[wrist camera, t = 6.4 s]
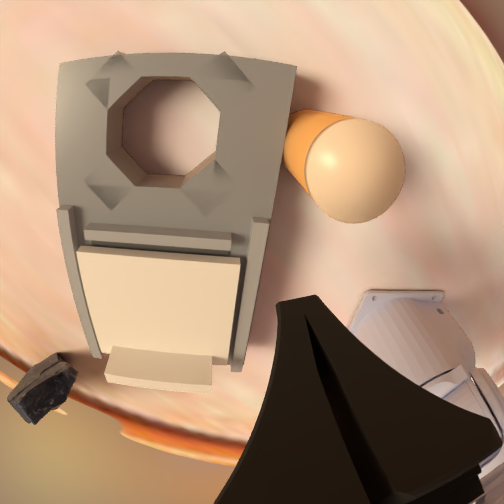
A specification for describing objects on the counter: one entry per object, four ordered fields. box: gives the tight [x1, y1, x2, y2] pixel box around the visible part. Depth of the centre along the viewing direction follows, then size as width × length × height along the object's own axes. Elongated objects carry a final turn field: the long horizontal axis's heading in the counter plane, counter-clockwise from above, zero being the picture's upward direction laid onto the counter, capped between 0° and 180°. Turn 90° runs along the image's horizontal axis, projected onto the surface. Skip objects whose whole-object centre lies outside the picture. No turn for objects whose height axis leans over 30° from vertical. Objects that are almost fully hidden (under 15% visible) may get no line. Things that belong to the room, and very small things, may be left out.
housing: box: [55, 51, 297, 372], centre depth 16 cm, size 12×20×3 cm, turn 172°
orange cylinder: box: [281, 110, 405, 224], centre depth 13 cm, size 4×4×7 cm
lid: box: [76, 245, 241, 394], centre depth 16 cm, size 9×8×3 cm
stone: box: [7, 353, 78, 425], centre depth 18 cm, size 14×6×10 cm, turn 140°
